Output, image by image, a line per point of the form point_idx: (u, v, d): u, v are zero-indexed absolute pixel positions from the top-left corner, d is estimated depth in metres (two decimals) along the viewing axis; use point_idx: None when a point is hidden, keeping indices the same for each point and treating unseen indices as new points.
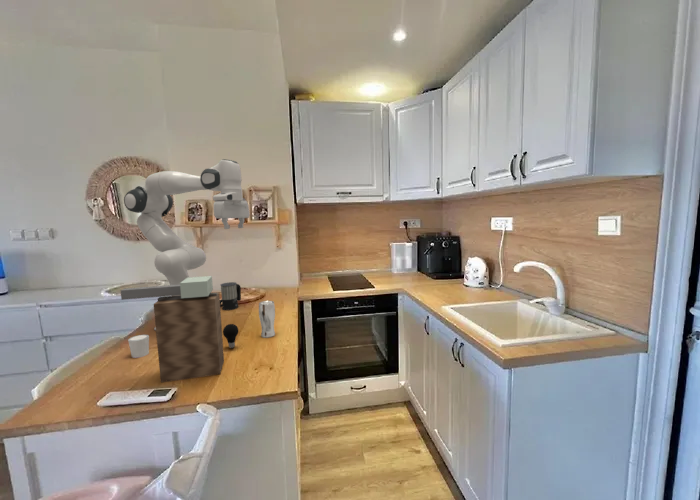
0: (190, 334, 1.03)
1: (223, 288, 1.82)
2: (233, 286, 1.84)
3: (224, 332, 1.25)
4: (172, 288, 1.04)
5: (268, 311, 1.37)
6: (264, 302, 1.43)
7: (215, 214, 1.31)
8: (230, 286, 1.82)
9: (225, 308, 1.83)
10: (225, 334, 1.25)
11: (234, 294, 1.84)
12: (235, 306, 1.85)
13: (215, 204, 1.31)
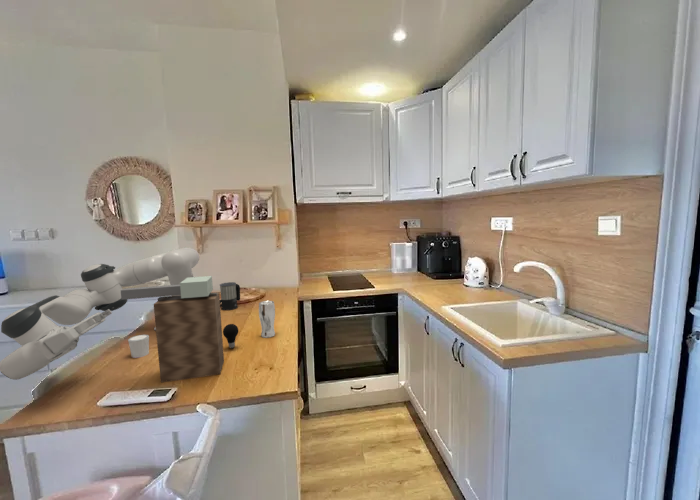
0: (190, 334, 1.03)
1: (222, 288, 1.82)
2: (232, 286, 1.84)
3: (224, 332, 1.25)
4: (172, 288, 1.04)
5: (268, 311, 1.37)
6: (264, 302, 1.43)
7: (66, 341, 0.90)
8: (229, 286, 1.82)
9: (224, 308, 1.83)
10: (225, 334, 1.25)
11: (233, 294, 1.85)
12: (234, 306, 1.85)
13: (54, 349, 0.90)
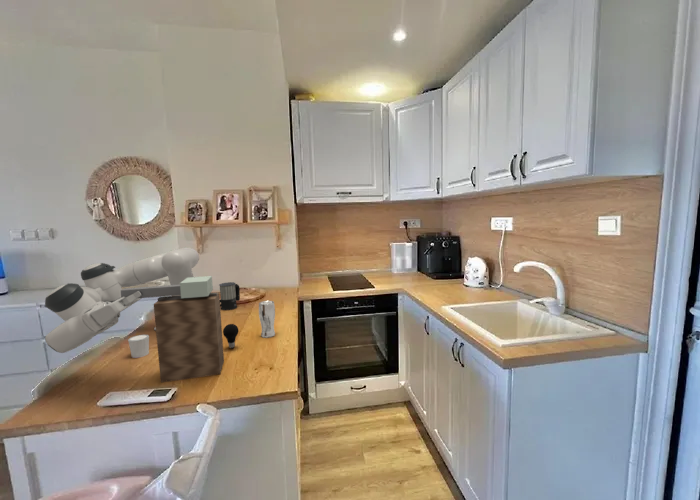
0: (190, 334, 1.03)
1: (222, 288, 1.82)
2: (232, 286, 1.84)
3: (224, 332, 1.25)
4: (172, 288, 1.04)
5: (268, 311, 1.37)
6: (264, 302, 1.43)
7: (112, 313, 0.93)
8: (229, 286, 1.82)
9: (224, 308, 1.83)
10: (225, 334, 1.25)
11: (233, 294, 1.85)
12: (234, 306, 1.85)
13: (100, 321, 0.93)
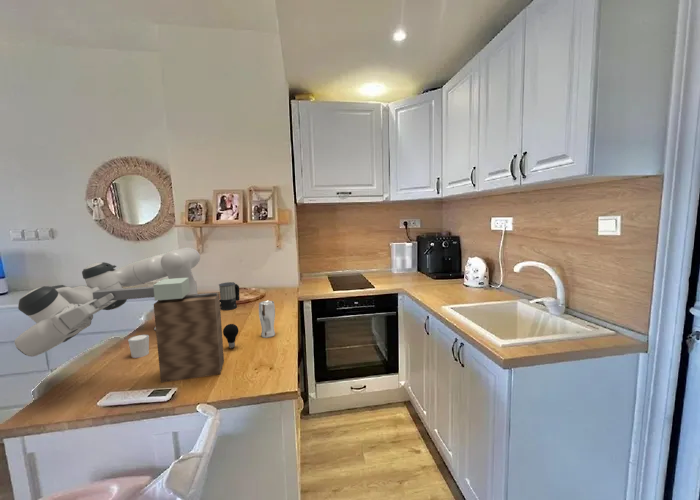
0: (190, 334, 1.03)
1: (221, 288, 1.82)
2: (231, 286, 1.84)
3: (224, 332, 1.25)
4: (146, 290, 1.02)
5: (268, 311, 1.37)
6: (264, 302, 1.43)
7: (82, 316, 0.91)
8: (228, 286, 1.82)
9: (223, 308, 1.83)
10: (225, 334, 1.25)
11: (232, 294, 1.85)
12: (233, 306, 1.85)
13: (70, 324, 0.91)
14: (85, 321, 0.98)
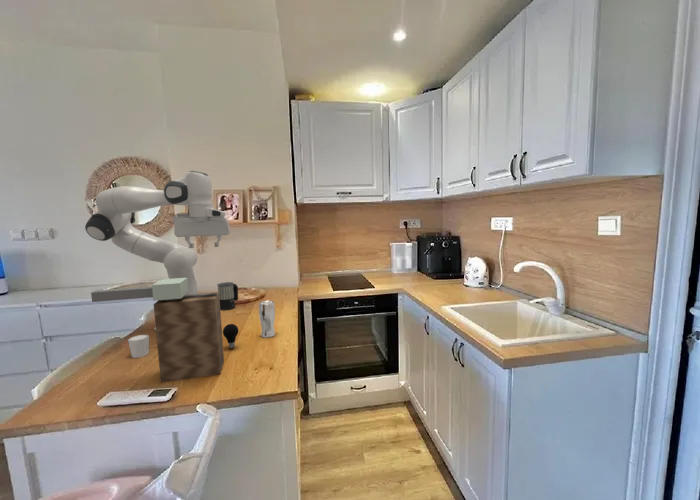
0: (190, 334, 1.03)
1: (220, 288, 1.82)
2: (230, 286, 1.84)
3: (224, 332, 1.25)
4: (144, 290, 1.02)
5: (268, 311, 1.37)
6: (264, 302, 1.43)
7: (229, 230, 1.28)
8: (227, 286, 1.82)
9: (222, 308, 1.83)
10: (225, 334, 1.25)
11: (231, 294, 1.85)
12: (232, 306, 1.86)
13: (227, 220, 1.27)
14: (205, 219, 1.24)
